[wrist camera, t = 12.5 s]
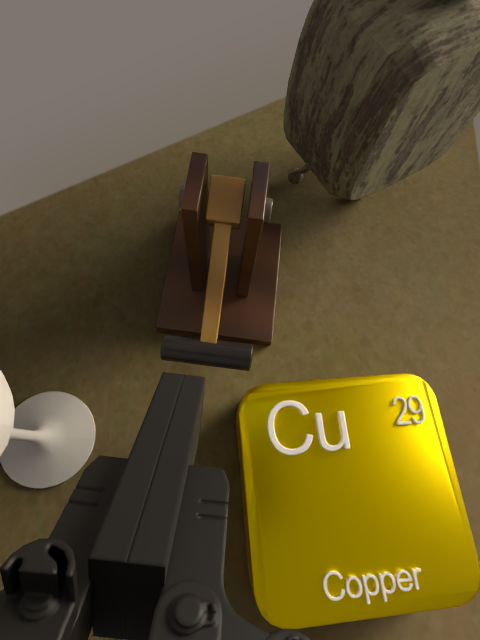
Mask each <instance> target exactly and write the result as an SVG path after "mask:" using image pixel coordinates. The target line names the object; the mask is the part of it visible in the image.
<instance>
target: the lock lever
mask: <svg viewBox="0 0 480 640" xmlns="http://www.w3.org/2000/svg"><path fill="white" fill-rule="evenodd" d="M245 182H246V179H243V178H235V177H228V176H221V175H214V174H211V179H210V187H209V195H208V203H207V211H206V220H207V223H208V225H209V226H214V233H213V241H212V249H211V257H210V265H209V273H208V281H207V289H206V297H205V305H204V313H203V321H202V329H201V338H197V337H189V336H181V335H174V334H165V335H164V337H163V340H162V345H161V359H162V360H167V361H175V362H182V363H190V364H198V365H206V366H214V367H222V368H230V369H238V370H245V371H249V370H250V367H251V361H252V352H253V346H252V345H251V344H244V343H236V342H228V341H220V340H217V338H218V331H219V323H220V315H221V307H222V299H223V291H224V283H225V276H226V268H227V260H228V252H229V244H230V236H231V229H236V230H239V229H240V223H241V216H242V208H243V200H244V192H245Z"/></svg>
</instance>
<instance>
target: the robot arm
mask: <svg viewBox="0 0 480 640" xmlns="http://www.w3.org/2000/svg"><path fill="white" fill-rule="evenodd" d="M204 386H205V377H198V376H190V375H182V374H174V373H166V372H163V374H162V376H161V379H160V381H159V384H158V386H157V388H156V391H155V393H154V396H153V398H152V401H151V403H150V406H149V408H148V411H147V413H146V416H145V418H144V421H143V423H142V425H141V428H140V430H139V433H138V435H137V438H136V440H135V443H134V445H133V448H132V450H131V453H130V455H129V458H128V459H124V458H116V457H108V456H99V457H98V458H97V459H96V460H95V461H94V462H92V463H91V464H90V465H89V466H88V467H87V468H86V469H85V470H84V472H83V474H82V476H81V478H80V480H79V482H78V484H77V486H76V489H74V491H73V493H72V495H71V497H70V499H69V502H68V504H67V505H66V506H65V508H64V510H63V512H62V514H61V516H60V518H59V520H58V522H57V524H56V525H55V527H54V529H53V531H52V533H51V535H50V537H49V538H48V539H38V540H36V541H33V542H31V543H28V544H26V545H24V546H22V547H21V548H20V549H18V550H17V551H16V552H14V553H13V554H11V555H10V556H9V558H8V559H7V560H6V561H5V563H4V564H3V565H2V566H1V567H0V572H1V576H2V580H3V585H4V590H2V591H0V640H88V637H89V634H90V631H91V628H92V625H93V636H98V637H107V638H116V639H126V640H310V639H309V637H308V636H306V635H304V634H302V633H300V632H298V631H296V630H292V629H280V630H278V631H276V632H273V633H271V634H270V633H268V632H266V631H264V630H262V629H260V628H258V627H257V626H255V625H253V624H251V623H249V622H247V621H246V620H245V619H243V618H242V617H240V616H239V615H238V614H237V613H236V611H235V610H234V609H233V608H232V607H231V605H230V603H229V601H228V599H227V597H226V593H225V590H224V579H223V576H224V561H225V547H226V533H227V518H228V503H229V490H230V484H229V482H228V479H227V476H226V474H225V471H224V469H218V468H210V467H201V466H194V462H195V457H196V451H197V446H198V441H199V434H200V425H201V415H202V405H203V395H204Z"/></svg>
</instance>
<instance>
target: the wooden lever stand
mask: <svg viewBox="0 0 480 640" xmlns="http://www.w3.org/2000/svg"><path fill="white" fill-rule="evenodd" d="M269 168H270V163H266V162H259V161H255V162H254V169H253V176H252V183H251V191H250V198H249V206H248V213H247V220H246V219H241V223H240V229H239V230H236V229H231V236H230V244H229V252H228V260H227V268H226V276H225V283H224V291H223V299H222V307H221V315H220V323H219V331H218V338H217V339H220V340H228V341H236V342H243V343H251V344H259V345H267V346H270V345H271V343H272V335H273V324H274V312H275V301H276V289H277V278H278V267H279V255H280V244H281V232H282V224H275V223H268V222H263V221H264V220H270V216H271V210H272V202H273V199H272V198H266V195H267V186H268V177H269ZM208 195H209V188H208V154H203V153H196V152H192V156H191V161H190V166H189V171H188V175H187V180H186V185H185V187H184V186H182V187H181V189H180V194H179V207H180V208H181V211H179V215H178V220H177V225H176V230H175V235H174V240H173V245H172V249H171V254H170V259H169V264H168V269H167V274H166V279H165V283H164V288H163V293H162V298H161V303H160V308H159V313H158V317H157V322H156V329H157V331H158V332H166V333H173V334H181V335H189V336H197V337H201V329H202V321H203V313H204V305H205V297H206V289H207V281H208V273H209V265H210V257H211V249H212V241H213V233H214V226H209V225H208V223H207V220H206V211H207V203H208Z"/></svg>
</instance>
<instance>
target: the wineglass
mask: <svg viewBox="0 0 480 640" xmlns="http://www.w3.org/2000/svg"><path fill="white" fill-rule="evenodd" d="M95 429H96V427H95V423H94V418H93V416H92V414H91V412H90V410H89V408H88V407H87V406H86V405H85V404H84V403H83V402H82V401H81V400H80V399H78V398H77V397H75V396H73V395H71V394H68V393H64V392H53V391H50V392H45V393H40V394H37V395H35V396H33V397H31V398H28V399H27V400H25V401H24V402H23V403H21V404H20V405H18V406H17V407H16V409H15V408H14V402H13V396H12V393H11V390H10V387H9V385H8V383H7V381H6V379H5V377H4V375H3V373H2V372H1V370H0V462H1V464H2V467H3V469H4V471H5V472H6V473H7V474H8V476H9V477H10V478H11V479H12V480H14V481H15V482H17V483H19V484H20V485H23V486H26V487H30V488H47V487H51V486H55V485H58V484H60V483H62V482H64V481H66V480H68V479H70V478H71V477H72V476H73V475H75V474H76V473H77V472H78V471H79V470H80V469H81V468H82V466H83V465H84V464H85V463H86V461H87V460H88V458H89V456H90V454H91V452H92V450H93V446H94V442H95Z"/></svg>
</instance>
